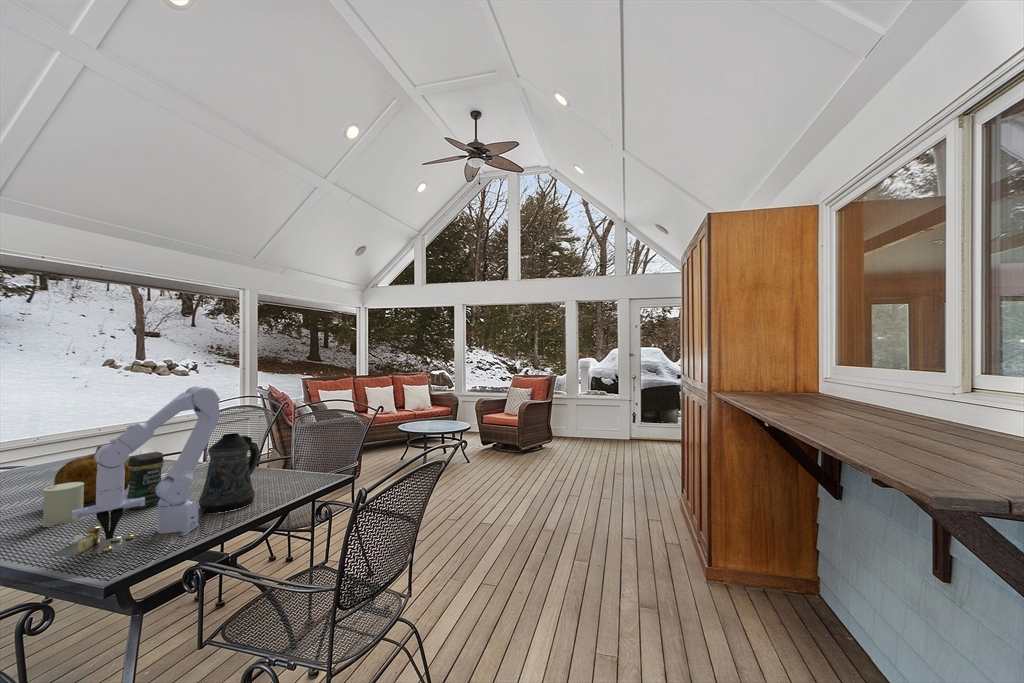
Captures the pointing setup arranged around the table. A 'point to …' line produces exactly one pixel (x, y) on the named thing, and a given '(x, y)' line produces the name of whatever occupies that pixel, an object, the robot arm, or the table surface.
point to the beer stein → (229, 474)
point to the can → (62, 503)
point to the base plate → (98, 545)
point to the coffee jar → (145, 477)
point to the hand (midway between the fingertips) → (109, 538)
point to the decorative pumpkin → (85, 475)
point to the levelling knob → (90, 538)
